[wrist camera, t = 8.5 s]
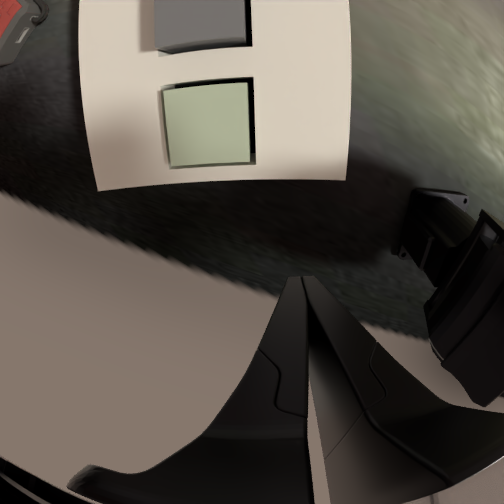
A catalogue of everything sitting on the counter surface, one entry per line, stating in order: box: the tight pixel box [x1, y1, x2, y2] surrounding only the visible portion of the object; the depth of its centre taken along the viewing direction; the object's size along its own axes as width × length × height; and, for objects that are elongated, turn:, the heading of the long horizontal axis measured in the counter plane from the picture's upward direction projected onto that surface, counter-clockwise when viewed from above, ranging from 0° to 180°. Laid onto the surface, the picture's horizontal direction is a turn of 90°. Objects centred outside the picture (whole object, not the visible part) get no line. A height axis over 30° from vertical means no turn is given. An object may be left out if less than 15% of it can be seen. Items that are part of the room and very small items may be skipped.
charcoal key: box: [154, 0, 247, 54], centre depth 11 cm, size 4×4×4 cm
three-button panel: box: [79, 0, 351, 191], centre depth 12 cm, size 16×21×3 cm
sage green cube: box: [163, 83, 251, 166], centre depth 15 cm, size 4×4×4 cm
